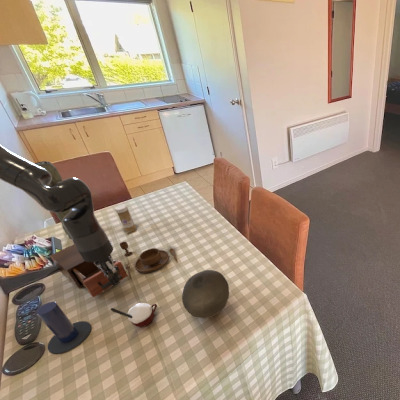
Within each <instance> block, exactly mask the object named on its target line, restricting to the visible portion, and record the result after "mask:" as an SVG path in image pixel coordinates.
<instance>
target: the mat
mask: <svg viewBox="0 0 400 400" xmlns="http://www.w3.org/2000/svg"><path fill="white" fill-rule="evenodd" d="M72 324H73V325H74V326H75V328H76V329H77V330H78V335H77V337H76V338H75V339H73V340H72V341H70V342H68V343H61V342H60V341H59V340H58V338H57V337H56V336H55V335H54V334H53V336H52V337H51V338H50V339H49V342H48V343H47V350H48V352H49V353H51V354H53V355H61V354H64V353H68V352H70V351H71V350H73V349H75V348H77V347H79V346H80V345H81V344H82V343H83V342H84V341H86V340H87V338H88V337H89V335H90V334H91V332H92V325H91V324H90V323H89V322H88V321H86V320H85V321H84V320H81V321H79V320H78V321H75V322H72Z"/></svg>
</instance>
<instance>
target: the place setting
mask: <svg viewBox="0 0 400 400" xmlns="http://www.w3.org/2000/svg"><path fill="white" fill-rule="evenodd" d="M119 247H120V248H121V250H122V251H123V250H124V251H125V253H124V257H130V256H132V255H133V252H132V251H129V245H128V243H127V241H122V242H120V243H119ZM168 251H169V252H168ZM168 251H166V250H163V249H158V248H155V247H153V248H148V249H145V250H144V251H142V252H141V253H140V255H139V257H138V259H136V261H135V262H134V268H135V270H136V271H138V273H139V272H140V273H145V274H147V273H151V272H152V273H153V272H155V271H157V270H159V269H161V268H163V267H164V266H165V265H166V264H167V263H168V262H169V259H170V254H172V256H173V259H174V260H175V261H176V262H177V261H178V257H177V256H176V255H175V249H174V248H170V249H169V250H168ZM169 253H170V254H169ZM124 268H125V270H127V275H128V277H129V279H132V275H131V271H130V268H131V265H130V263H129V262H127V263H126V264H124Z"/></svg>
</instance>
